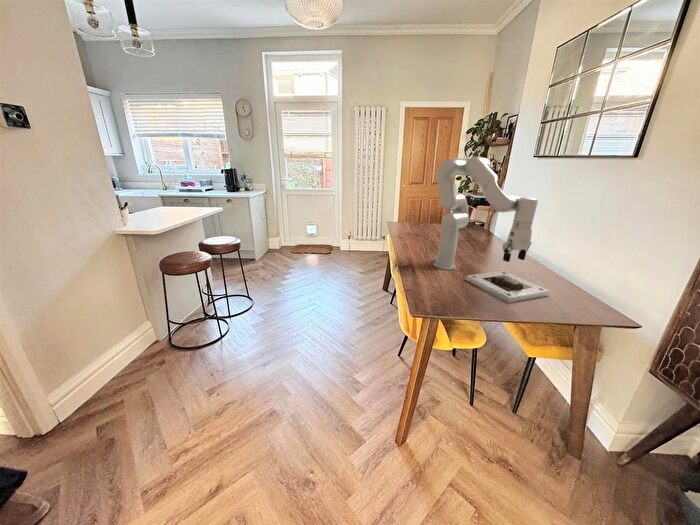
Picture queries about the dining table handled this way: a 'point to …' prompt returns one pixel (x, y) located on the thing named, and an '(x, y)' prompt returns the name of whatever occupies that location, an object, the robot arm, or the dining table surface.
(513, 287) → the bolt
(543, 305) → the dining table surface
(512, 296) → the plate
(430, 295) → the dining table surface
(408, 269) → the dining table surface
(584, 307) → the dining table surface
